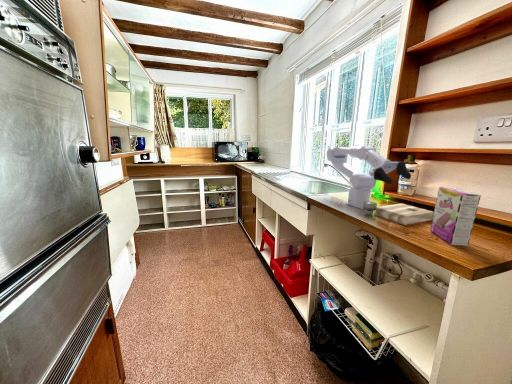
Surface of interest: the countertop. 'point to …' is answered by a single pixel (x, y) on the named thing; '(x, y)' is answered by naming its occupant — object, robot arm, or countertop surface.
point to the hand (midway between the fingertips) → (400, 179)
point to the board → (404, 213)
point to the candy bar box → (454, 215)
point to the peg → (369, 208)
